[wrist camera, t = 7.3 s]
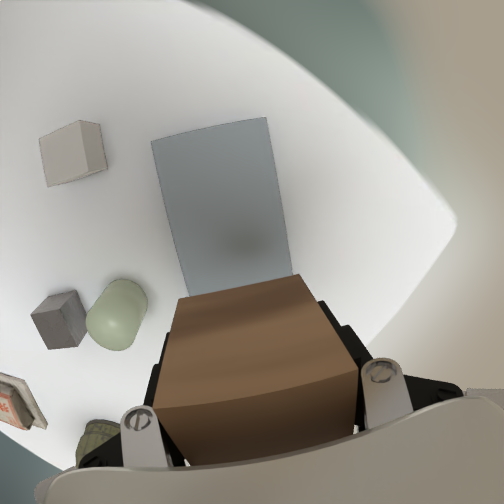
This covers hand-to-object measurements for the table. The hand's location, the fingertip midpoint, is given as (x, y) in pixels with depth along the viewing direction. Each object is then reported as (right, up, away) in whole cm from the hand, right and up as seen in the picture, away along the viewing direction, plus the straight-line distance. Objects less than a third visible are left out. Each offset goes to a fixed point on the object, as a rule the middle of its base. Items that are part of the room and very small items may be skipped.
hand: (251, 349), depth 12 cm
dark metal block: (-19, -2, +14) cm, 23 cm away
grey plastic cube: (-14, +12, +9) cm, 21 cm away
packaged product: (-40, -18, +17) cm, 47 cm away
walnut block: (0, 0, +1) cm, 1 cm away
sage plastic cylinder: (-12, -1, +14) cm, 18 cm away
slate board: (-2, +4, +13) cm, 14 cm away
